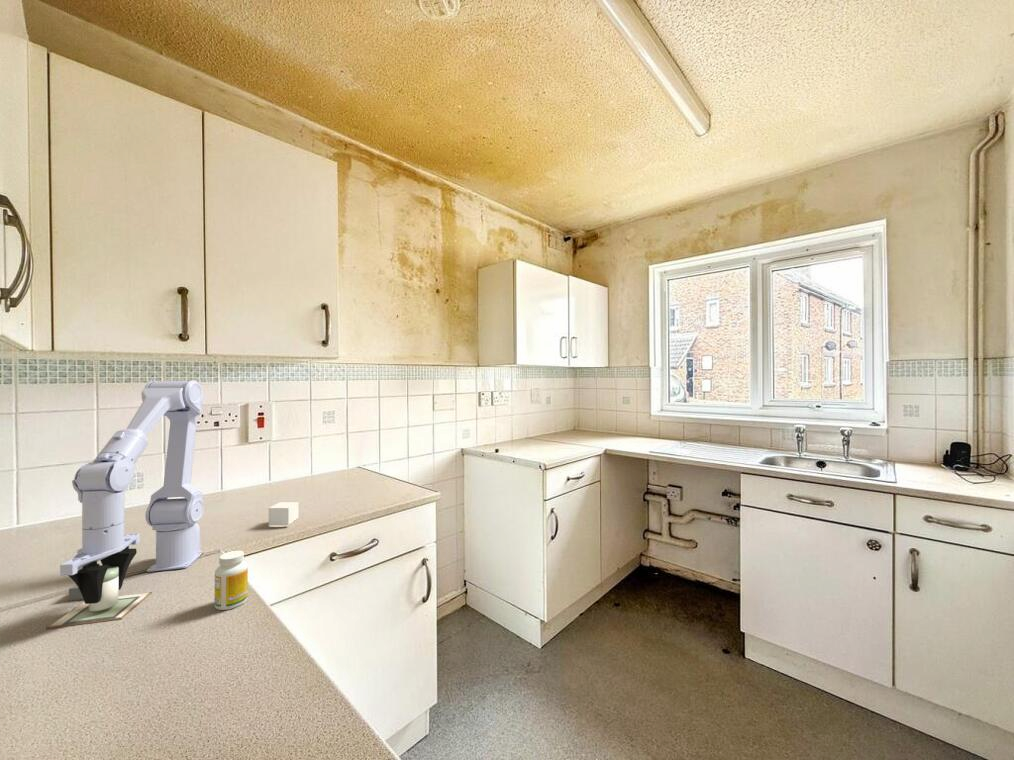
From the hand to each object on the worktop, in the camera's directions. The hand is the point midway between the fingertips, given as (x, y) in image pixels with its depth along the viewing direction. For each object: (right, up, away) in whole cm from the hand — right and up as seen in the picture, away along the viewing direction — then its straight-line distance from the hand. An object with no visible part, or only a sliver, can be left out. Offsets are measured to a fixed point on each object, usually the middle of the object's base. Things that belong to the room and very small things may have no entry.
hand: (103, 596), depth 77 cm
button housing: (-9, -3, +7) cm, 12 cm away
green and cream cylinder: (0, -2, 0) cm, 2 cm away
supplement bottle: (+23, -3, +3) cm, 23 cm away
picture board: (-1, -3, +1) cm, 3 cm away
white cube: (+8, -4, +47) cm, 48 cm away
